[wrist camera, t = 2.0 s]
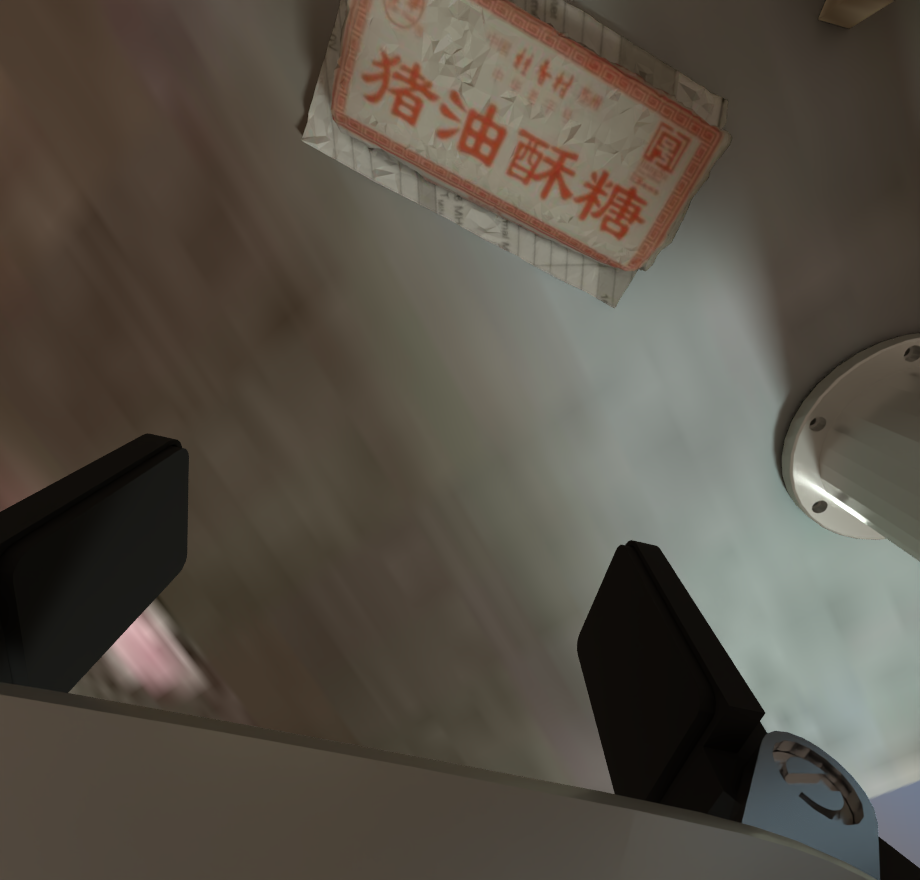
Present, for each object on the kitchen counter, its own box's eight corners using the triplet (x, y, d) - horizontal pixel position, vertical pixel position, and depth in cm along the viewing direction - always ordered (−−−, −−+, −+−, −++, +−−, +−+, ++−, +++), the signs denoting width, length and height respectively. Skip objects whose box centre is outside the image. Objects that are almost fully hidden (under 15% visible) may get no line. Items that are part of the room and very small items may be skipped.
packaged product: (785, 79, 18) (638, 318, 21) (723, 115, 22) (610, 307, 26) (350, -200, 15) (265, 120, 19) (379, -97, 20) (306, 146, 23)
